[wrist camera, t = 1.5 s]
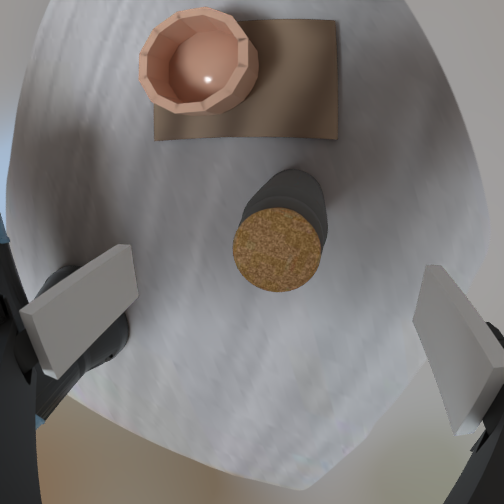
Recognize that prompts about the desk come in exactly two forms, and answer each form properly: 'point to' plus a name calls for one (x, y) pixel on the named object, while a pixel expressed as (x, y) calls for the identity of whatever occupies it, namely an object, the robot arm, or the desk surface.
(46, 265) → the desk surface
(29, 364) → the robot arm
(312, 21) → the board
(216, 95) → the terracotta bowl
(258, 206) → the bottle
